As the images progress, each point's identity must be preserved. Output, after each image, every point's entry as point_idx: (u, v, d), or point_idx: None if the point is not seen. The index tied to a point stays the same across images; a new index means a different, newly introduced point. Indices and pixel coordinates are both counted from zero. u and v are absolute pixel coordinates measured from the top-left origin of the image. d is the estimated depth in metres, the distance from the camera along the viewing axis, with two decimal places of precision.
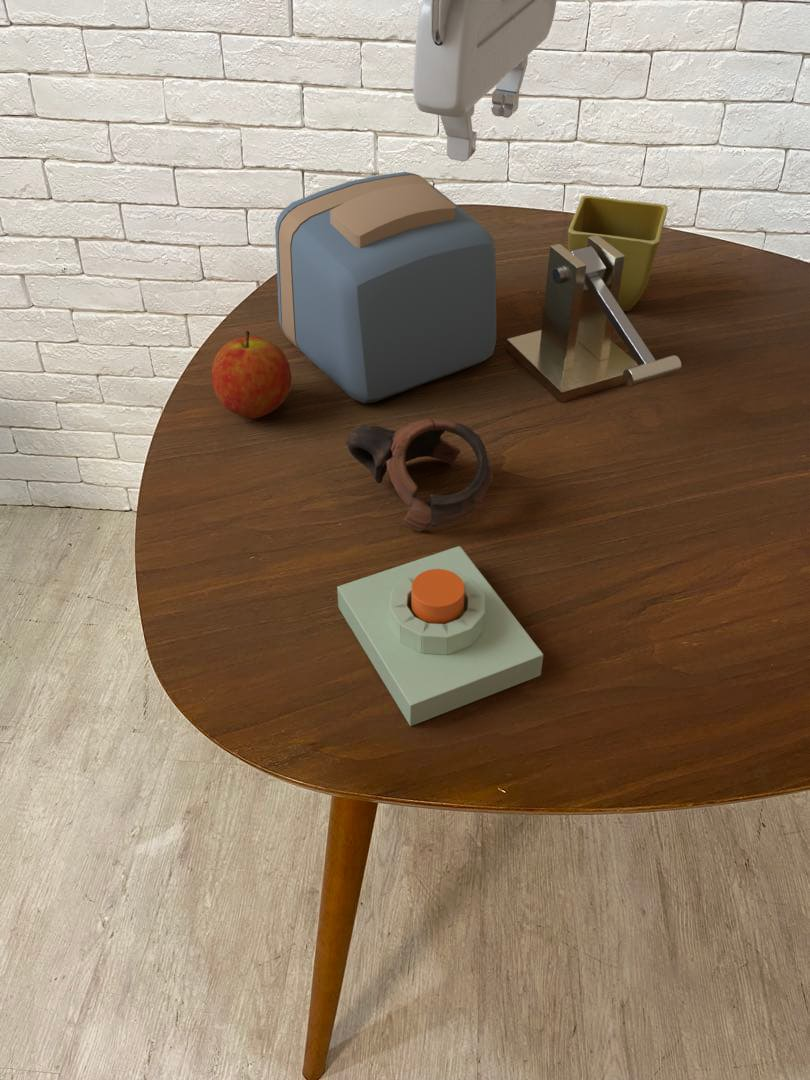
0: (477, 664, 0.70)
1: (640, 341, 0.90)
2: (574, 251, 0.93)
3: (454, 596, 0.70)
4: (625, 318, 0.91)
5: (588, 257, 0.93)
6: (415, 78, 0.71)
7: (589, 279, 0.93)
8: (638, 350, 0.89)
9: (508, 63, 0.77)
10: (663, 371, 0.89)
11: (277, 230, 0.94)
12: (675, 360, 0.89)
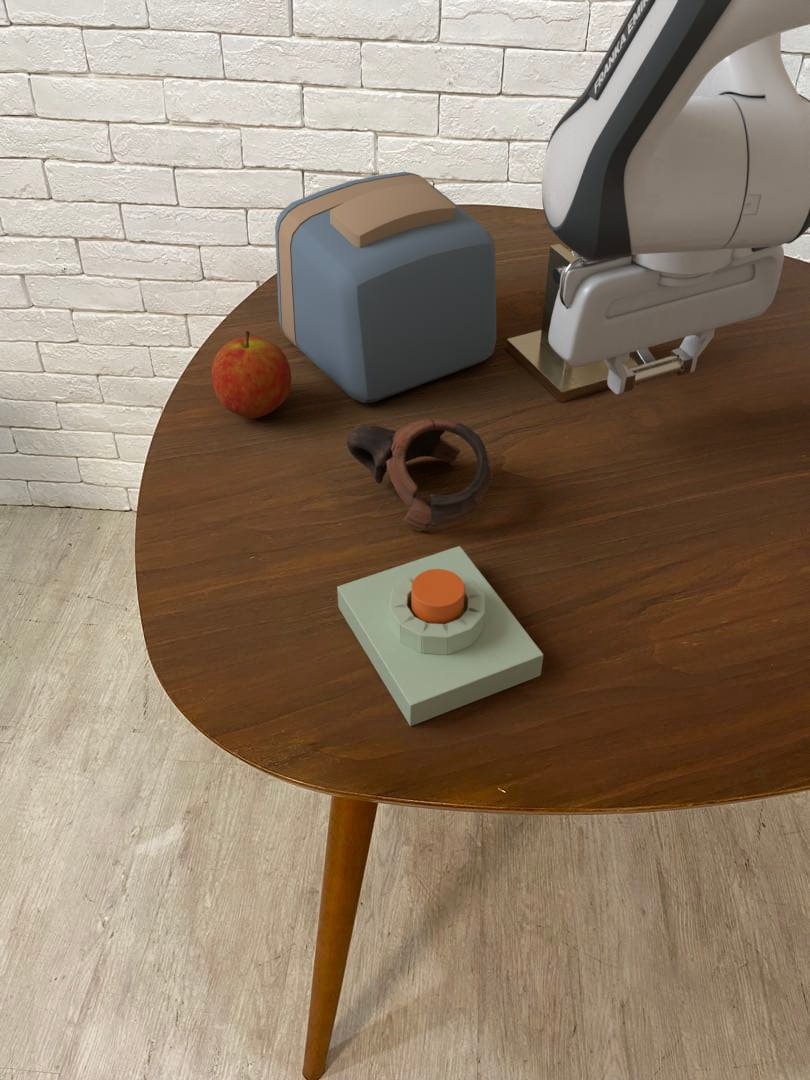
0: (477, 664, 0.70)
1: None
2: None
3: (454, 596, 0.70)
4: None
5: None
6: (550, 325, 0.83)
7: None
8: (638, 350, 0.89)
9: (670, 333, 0.85)
10: (663, 371, 0.89)
11: (277, 230, 0.94)
12: (675, 360, 0.89)
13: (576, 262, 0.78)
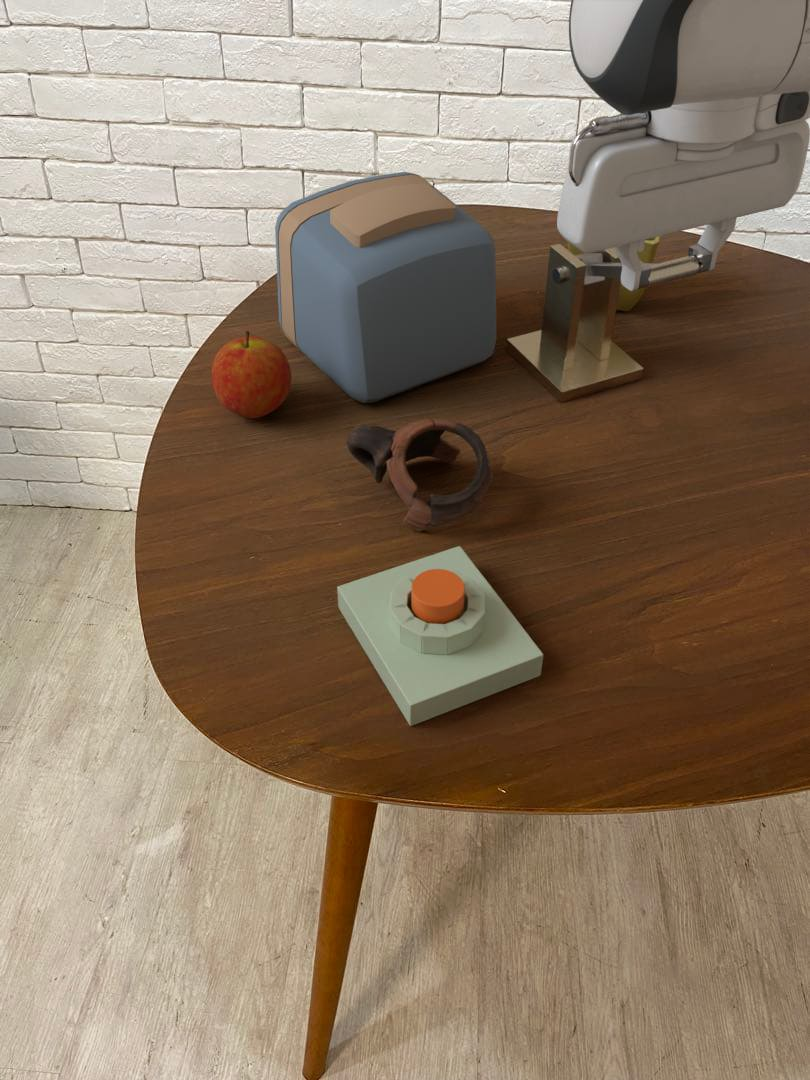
0: (477, 664, 0.70)
1: (648, 263, 0.86)
2: None
3: (454, 596, 0.70)
4: None
5: (582, 255, 0.94)
6: None
7: (588, 265, 0.92)
8: None
9: (689, 219, 0.78)
10: (678, 264, 0.83)
11: (277, 230, 0.94)
12: (688, 256, 0.84)
13: (587, 131, 0.72)
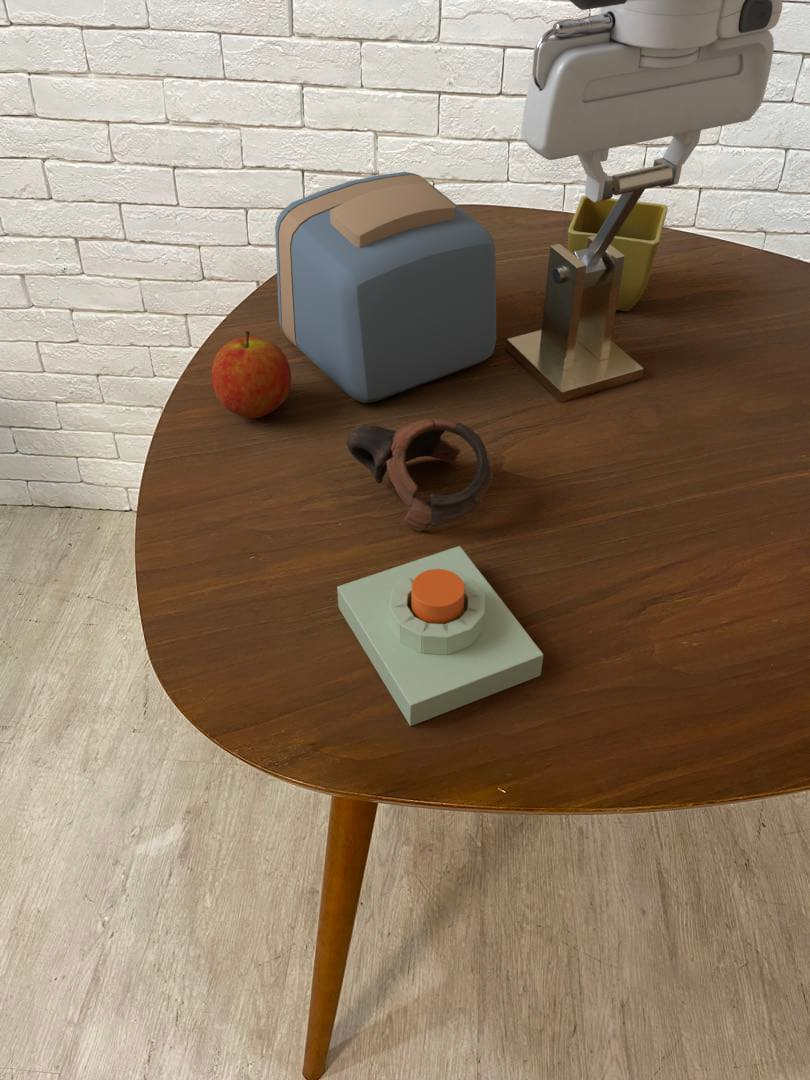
0: (477, 664, 0.70)
1: None
2: None
3: (454, 596, 0.70)
4: None
5: None
6: (523, 115, 0.77)
7: (584, 256, 0.92)
8: None
9: (652, 129, 0.79)
10: (647, 168, 0.83)
11: (277, 230, 0.94)
12: None
13: (550, 33, 0.72)
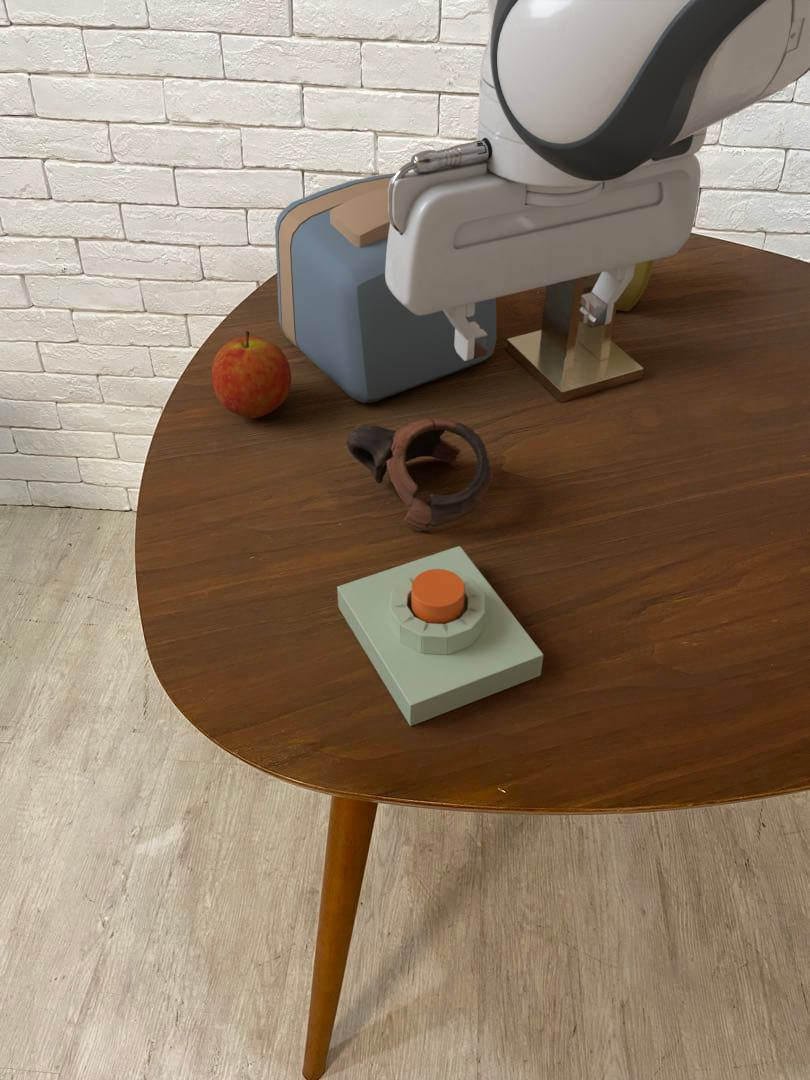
0: (477, 664, 0.70)
1: None
2: None
3: (454, 596, 0.70)
4: None
5: None
6: None
7: None
8: None
9: (550, 273, 0.64)
10: None
11: (277, 230, 0.94)
12: None
13: (407, 169, 0.57)
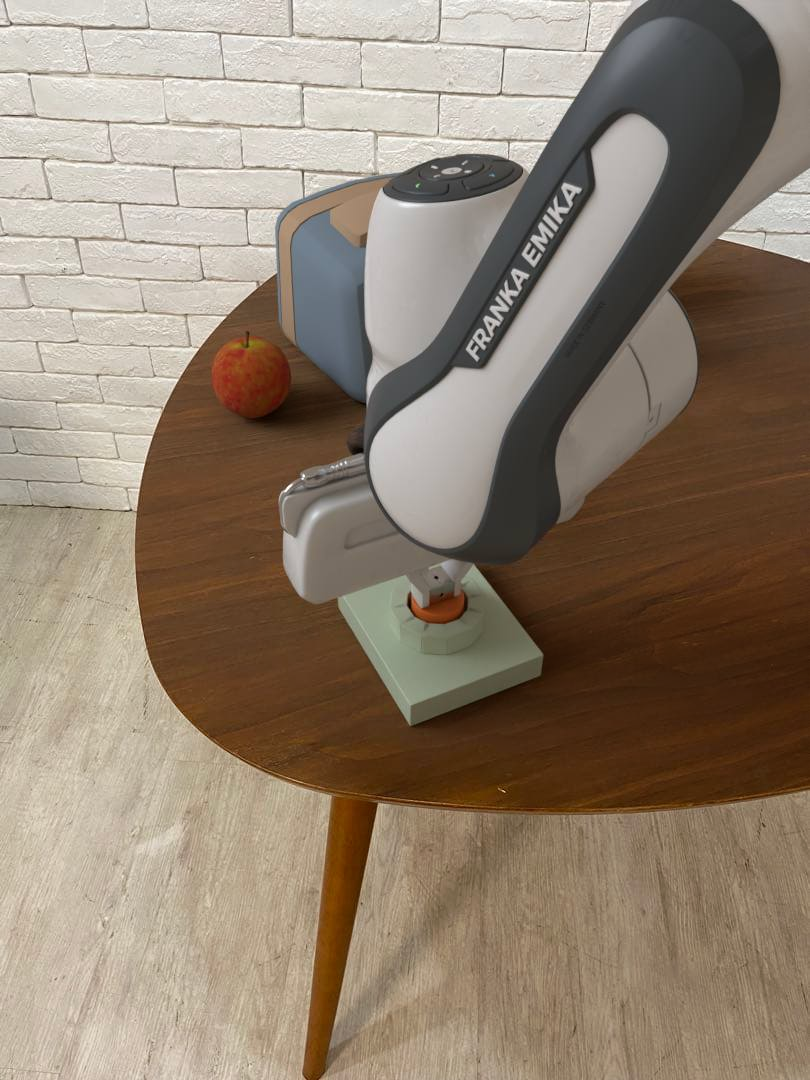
0: (477, 664, 0.70)
1: None
2: None
3: (453, 605, 0.71)
4: None
5: None
6: None
7: None
8: None
9: None
10: None
11: (277, 230, 0.94)
12: None
13: (295, 486, 0.59)
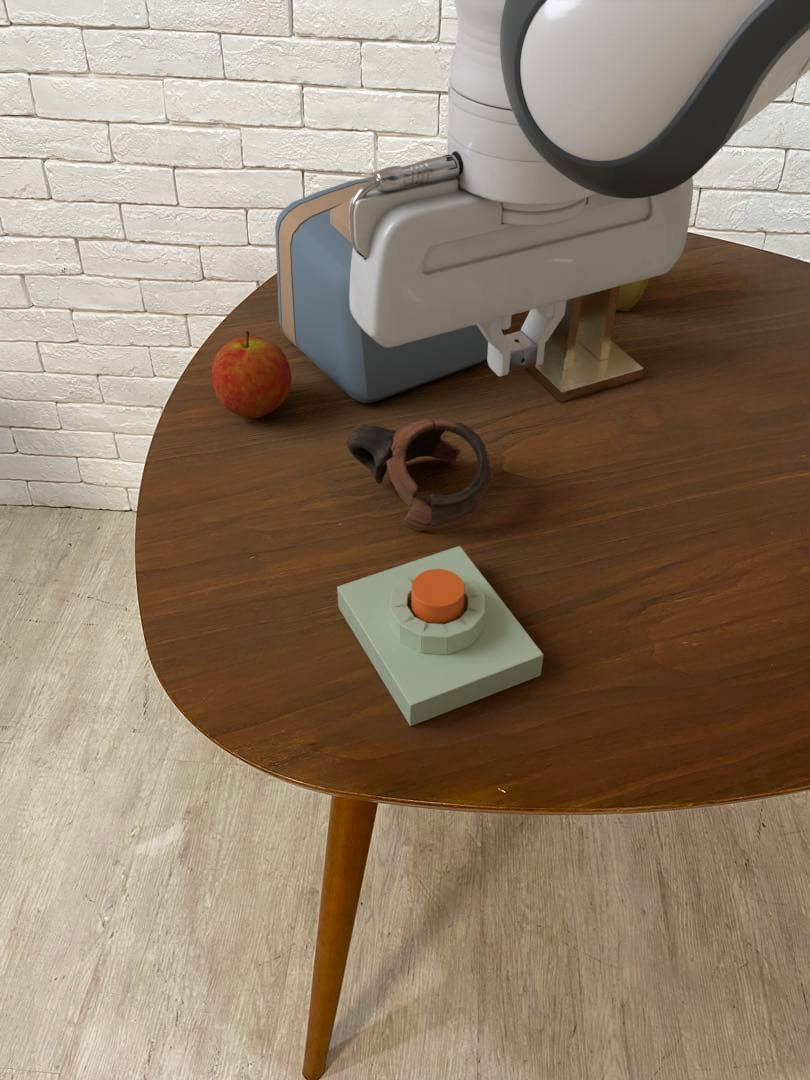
0: (477, 664, 0.70)
1: None
2: None
3: (454, 596, 0.70)
4: None
5: None
6: None
7: None
8: None
9: (530, 297, 0.58)
10: None
11: (277, 230, 0.94)
12: None
13: (369, 188, 0.51)
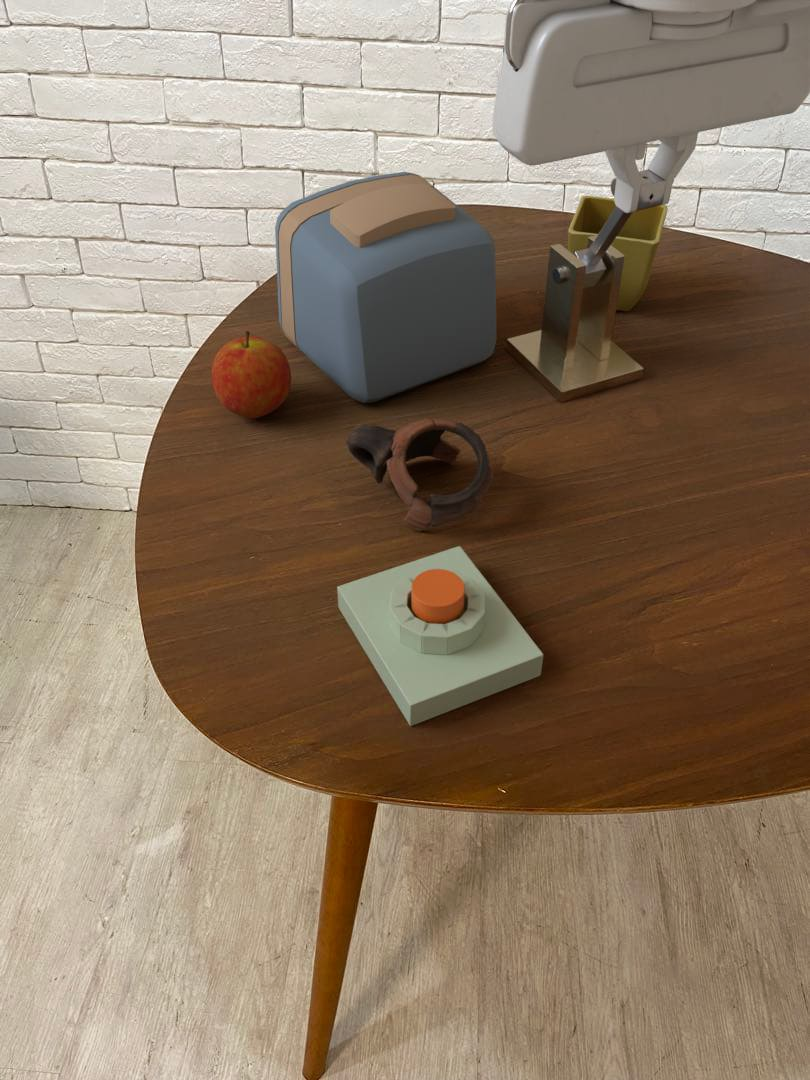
0: (477, 664, 0.70)
1: None
2: None
3: (454, 596, 0.70)
4: None
5: None
6: (494, 105, 0.58)
7: (584, 256, 0.92)
8: None
9: (668, 123, 0.59)
10: None
11: (277, 230, 0.94)
12: None
13: None
